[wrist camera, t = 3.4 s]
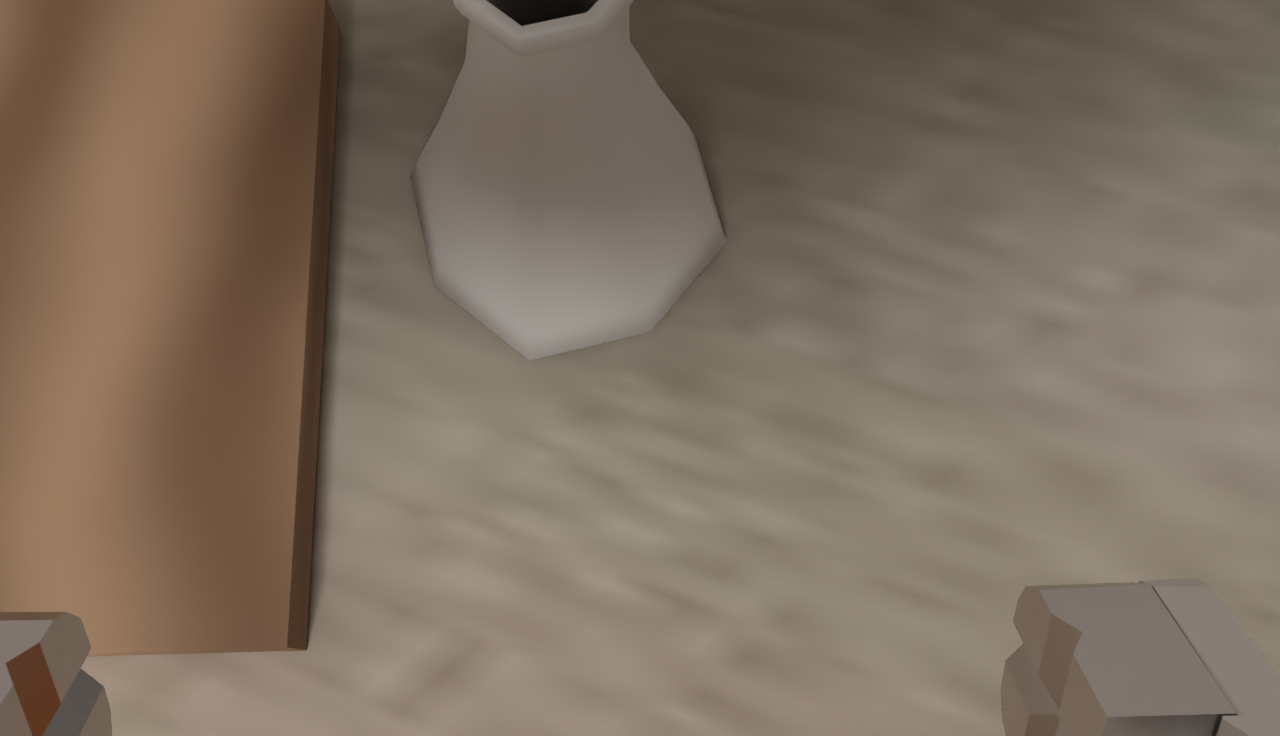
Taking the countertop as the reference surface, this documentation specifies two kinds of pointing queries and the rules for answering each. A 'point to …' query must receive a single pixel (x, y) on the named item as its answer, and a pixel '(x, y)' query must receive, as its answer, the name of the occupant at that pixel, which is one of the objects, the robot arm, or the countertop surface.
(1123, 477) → the countertop surface
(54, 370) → the walnut board
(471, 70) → the flask
